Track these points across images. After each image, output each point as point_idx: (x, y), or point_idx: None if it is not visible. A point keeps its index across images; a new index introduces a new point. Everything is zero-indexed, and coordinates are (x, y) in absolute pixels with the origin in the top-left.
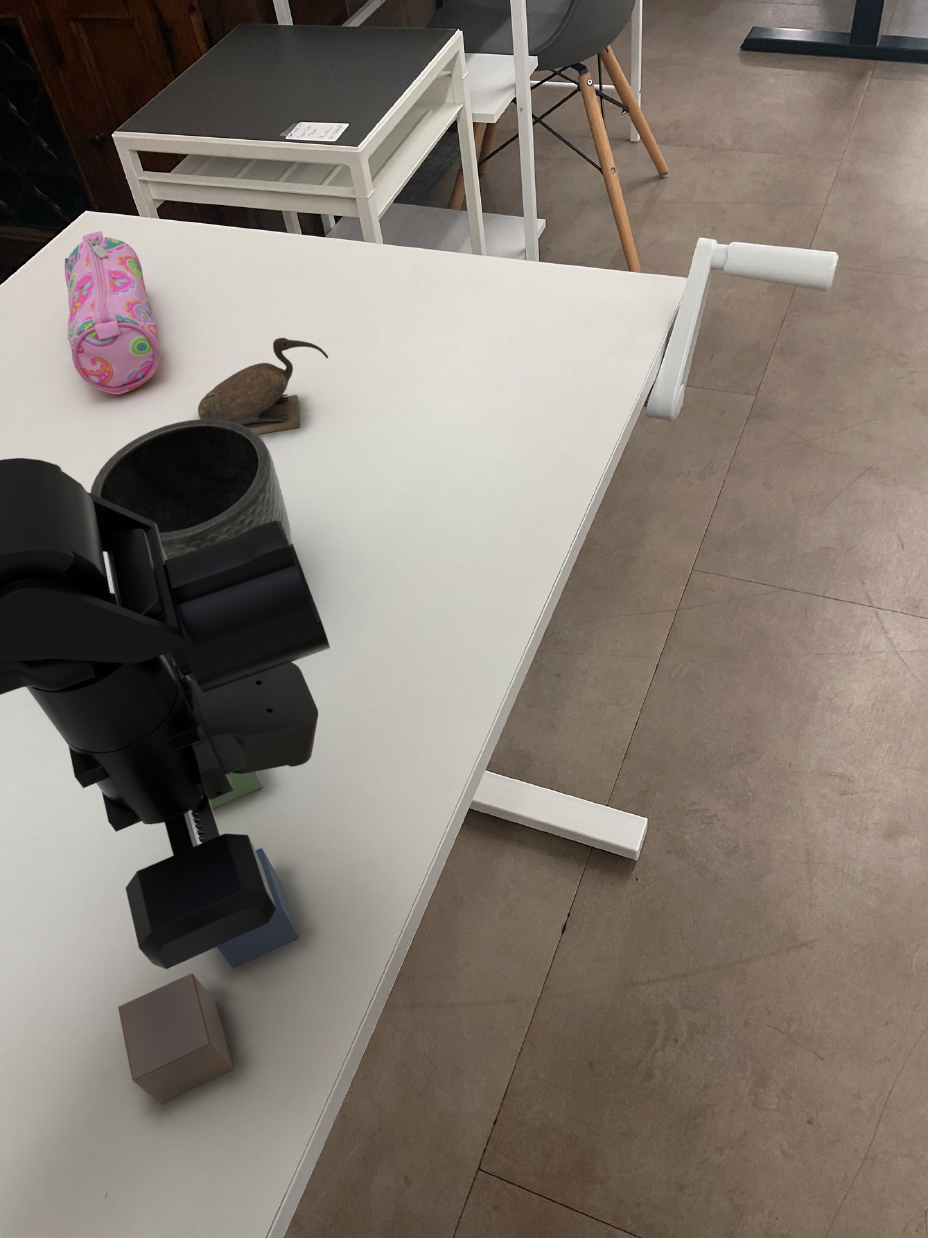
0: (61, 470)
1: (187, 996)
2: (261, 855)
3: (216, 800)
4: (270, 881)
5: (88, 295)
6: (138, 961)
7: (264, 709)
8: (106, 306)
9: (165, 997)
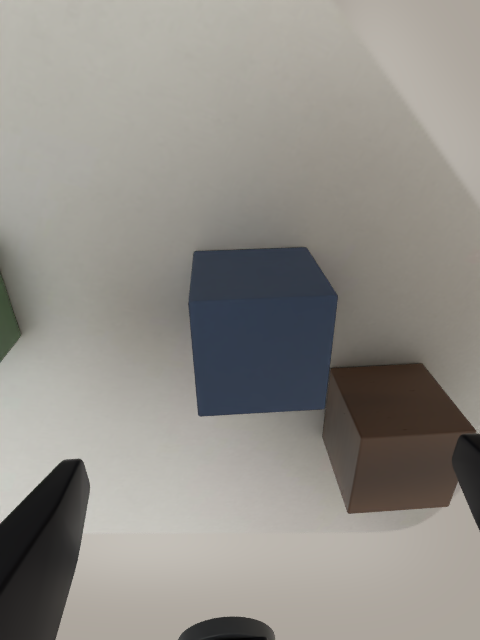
0: None
1: (391, 447)
2: (207, 306)
3: (5, 319)
4: (274, 303)
5: None
6: (231, 434)
7: None
8: None
9: (373, 469)
